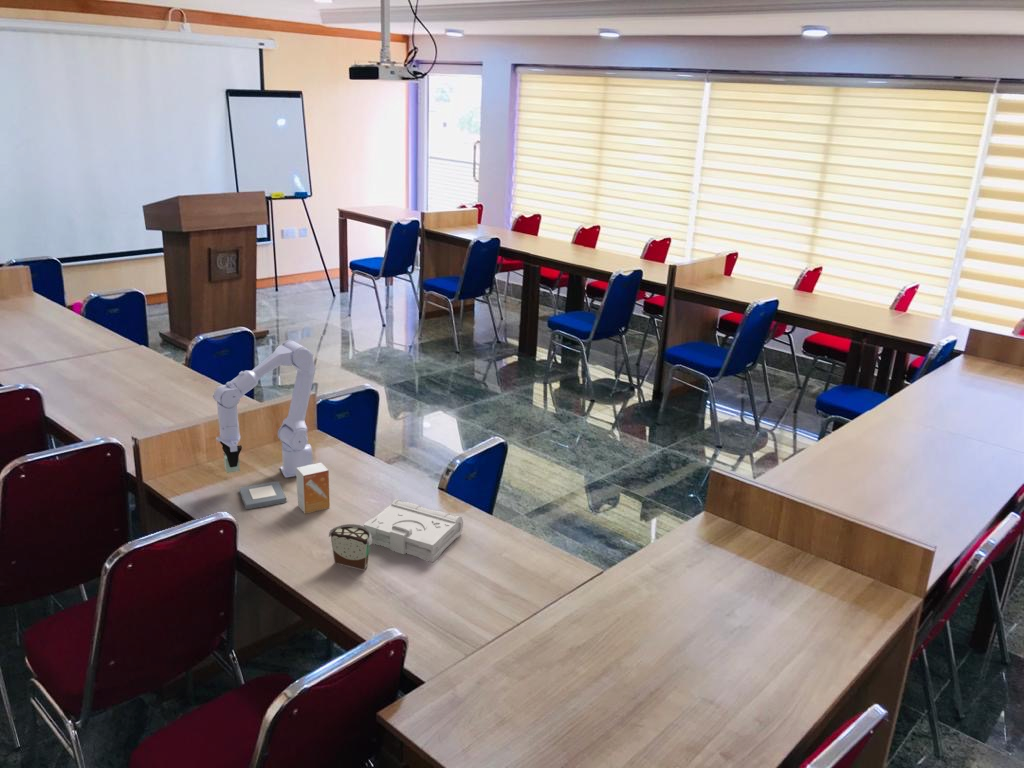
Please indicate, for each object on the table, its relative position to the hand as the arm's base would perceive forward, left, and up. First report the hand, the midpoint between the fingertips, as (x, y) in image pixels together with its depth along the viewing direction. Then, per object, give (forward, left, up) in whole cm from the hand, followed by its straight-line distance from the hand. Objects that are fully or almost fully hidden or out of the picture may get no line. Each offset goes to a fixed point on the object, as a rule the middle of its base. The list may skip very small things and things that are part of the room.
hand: (232, 463), depth 262 cm
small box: (-20, +21, -9) cm, 30 cm away
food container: (-23, +55, -9) cm, 60 cm away
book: (-41, +48, -10) cm, 63 cm away
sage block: (0, 0, -2) cm, 2 cm away
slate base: (-7, +9, -9) cm, 14 cm away
